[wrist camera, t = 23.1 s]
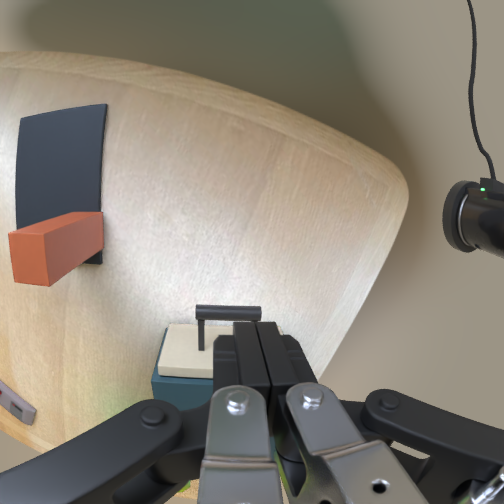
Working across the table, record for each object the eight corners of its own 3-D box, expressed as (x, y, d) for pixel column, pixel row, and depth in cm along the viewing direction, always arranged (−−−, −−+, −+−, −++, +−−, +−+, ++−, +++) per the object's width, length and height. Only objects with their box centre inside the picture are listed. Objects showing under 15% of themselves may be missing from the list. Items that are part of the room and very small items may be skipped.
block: (73, 211, 27) (7, 232, 15) (103, 211, 28) (43, 233, 16) (74, 246, 28) (14, 282, 16) (104, 247, 29) (49, 287, 17)
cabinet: (166, 327, 32) (150, 380, 23) (282, 330, 34) (304, 382, 24) (174, 410, 36) (168, 463, 26) (269, 411, 38) (282, 462, 28)
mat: (23, 118, 23) (20, 118, 23) (107, 104, 25) (105, 103, 24) (21, 257, 28) (19, 258, 27) (102, 263, 30) (100, 264, 29)
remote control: (40, 428, 35) (35, 437, 33) (-17, 381, 32) (-24, 389, 29) (44, 414, 35) (38, 425, 32) (-17, 363, 31) (-24, 371, 28)
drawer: (167, 283, 30) (152, 318, 22) (285, 287, 32) (305, 322, 24) (176, 404, 35) (171, 448, 27) (268, 405, 36) (279, 448, 28)
